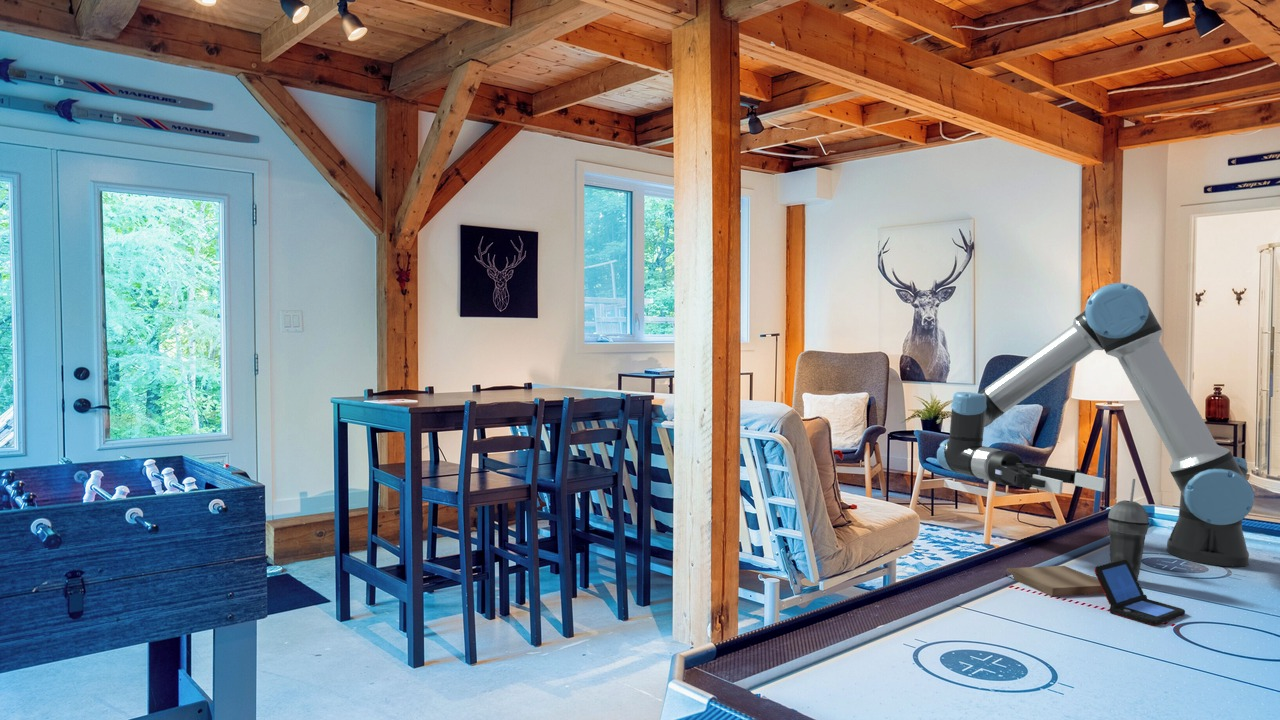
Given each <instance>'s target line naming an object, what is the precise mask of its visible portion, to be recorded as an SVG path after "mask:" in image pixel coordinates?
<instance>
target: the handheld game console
mask: <svg viewBox="0 0 1280 720" xmlns="http://www.w3.org/2000/svg"><path fill="white" fill-rule="evenodd" d="M1094 574H1095V576H1096V578H1097V579H1098V581H1099V583H1100V585H1101V587H1102V589H1103V591H1104V593H1103V594H1104V596H1105V598H1106V600H1107V602H1108V604H1109V605H1110V607H1109V613H1110V614H1111V615H1116V616H1120V617H1122V618H1125V619H1129V620H1133V621H1136V622H1139V623H1142V624H1145V625H1149V626H1153V627H1154V626H1158V625H1162V624H1164V623H1166V622H1170V621H1173V620H1176V619H1177V618H1179V617H1182V616H1185V614H1186V610H1185V608H1184V609H1183V608H1180V607H1178V606H1174V605H1170V604H1167V603H1162V602H1160V601H1157V600H1153V599H1149V598H1148V595H1147V594H1144V591H1143V589H1142V588H1141V585H1140V583H1139V581H1137V578H1136V576H1135V574H1134V572H1133V570H1132V568H1131V566H1130V564H1129V562H1128V561H1127V560H1120V561H1116V562H1112V563H1110V562H1109V563H1105V564H1100V565H1097V566H1095V567H1094Z"/></svg>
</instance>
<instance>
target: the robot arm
mask: <svg viewBox="0 0 1280 720" xmlns="http://www.w3.org/2000/svg"><path fill="white" fill-rule="evenodd" d="M1162 334H1163V328H1162V327H1161V325H1160V323H1159V321H1158V319H1157V318H1156V316H1155V314H1154V312H1153V311H1152V309H1151V307H1150V305H1149V302H1148V299H1147V296H1145V294H1144V293H1143V292H1142V291H1141V290H1140V289H1138V288H1137V287H1135V286H1133V285H1131V284H1128V283H1123V282H1114V283H1109V284H1107V285H1103V286H1102V287H1100V288H1098V289H1096V290H1095V291H1094V292H1093V293H1092V294H1091V295H1090V296H1089V298H1088V299H1087V301H1086V304H1085V308H1084V310H1083V311H1082V312H1081V313H1080V314H1079V315H1077V316H1075V318H1073V322H1072V325H1071V326H1070V327H1068V328H1067V329H1065V330H1064V331H1063V332H1061V333H1060V334H1059V335H1057V336H1056V337H1054V338H1053V339H1051V340H1050V341H1049V342H1048V343H1046V344H1044V345H1043V346H1042V347H1040V348H1039V349H1038V350H1036V351H1035V352H1034V353H1032V354H1031V355H1029V356H1028V357H1026V358H1024V360H1022V361H1021V362H1020V363H1018V364H1017V365H1015V366H1014V367H1012V368H1011V369H1010V370H1009V371H1008V372H1006V373H1004V374H1003V375H1001V376H1000V377H999V378H997V379H996V380H995V381H993V382H992V383H990V385H988V386H986V387H985V388H984V389H982V390H981V391H980V392H970V391H969V392H967V391H956V392H955V393H953V396H952V403H951V407H950V408H951V414H950V426H949V436H948V438H947V439H945V440H942V442H940V443H939V447H938V449H937V451H936V459H937V462H938V464H939V465H940V467H942V468H943V469H945V470H947V471H951V472H953V473H955V474H960V475H964V476H969V477H972V478H973V477H974V478H976V479H977V478H978V479H981V480H983V482H984V483H988V482H993V483H995V484H999V485H1003V486H1007V487H1008V486H1012V485H1014V486H1017V487H1022V486H1023V490H1025V491H1030V490H1031V488H1033V489H1035V490H1036V489H1037V490H1041V491H1043V492H1049V493H1053V494H1057V495H1062V493H1063V486H1064V484H1063V483H1065V484H1072V485H1073V486H1075V487H1080V488H1081V487H1082V488H1085V489H1089V490H1093V491H1099V492H1102V493H1103V492H1106V483H1107V482H1106V481H1107V479H1106V478H1105V477H1104V478H1103V477H1098V476H1094V475H1089V474H1085V473H1083V472H1082V471H1081V470H1080V469H1079V468H1076V470H1070V469H1066V468H1065V469H1064V468H1060V467H1052V466H1046V465H1041V464H1038V463H1037V464H1033V463H1030V462H1023V461H1022V459H1021V457H1020V456H1019V455H1018V454H1017V453H1015V452H1011V451H1007V450H1003V449H1002V450H1001V449H999V448H995V447H990V446H984V445H983V440H984V431H985V428H986V427H988V426H990V425H991V424H992V423H993V422H994V421H995V420H996V419H998V418H999V417H1001V416H1003V415H1004V414H1005V413H1006V412H1008V411H1009V410H1011V409H1013V408H1014V407H1015V406H1016V405H1018V404H1019V403H1021V402H1022V401H1024V400H1025V399H1027V398H1028V397H1030V396H1032V394H1034V393H1036V392H1037V391H1038V390H1040V389H1041V388H1043V387H1044V386H1046V385H1047V384H1048V383H1050V382H1051V381H1052V380H1054V379H1055V378H1057V377H1059V376H1060V375H1062V374H1063V373H1064V372H1065V371H1067V370H1069V368H1071V367H1072V366H1074V365H1075V364H1077V363H1078V362H1080V361H1081V360H1083V359H1085V358H1086V357H1088V356H1089V355H1091V354H1092V353H1093V352H1094V351H1103V350H1104V352H1105V353H1106V355H1108V356H1111V357H1114V358H1117V360H1118V362H1119V364H1120V365H1121V367H1122V369H1123V371H1124V373H1125V375H1126V377H1127V378H1128V380H1129V382H1130V384H1131V385H1132V388H1133V389H1134V390H1133V391H1134V392H1135V393H1136V395H1137V397H1138V398H1139V400H1140V402H1141V404H1142V406H1143V407H1144V409H1145V411H1146V413H1147V415H1148V417H1149V419H1150V421H1151V422H1152V425H1153V426H1154V429H1155V430H1156V432H1157V434H1158V435H1159V437H1160V439H1161V441H1162V443H1163V444H1164V446H1165V449H1166V450H1167V452H1168V455H1169V456H1170V458H1171V459H1172V460H1171V464H1170V467H1169V469H1168V470H1169V472H1170V474H1171V476H1172V478H1173V481H1174V482H1175V483H1176V485H1177V487H1178V489H1179V491H1180V499H1179V508H1178V509H1179V511H1178V518H1177V521H1176V522H1175V525H1174V526H1173V529H1172V531H1171V534H1170V536H1169V538H1168V539H1167V543H1166V551H1167V553H1169V554H1171V555H1173V556H1176V557H1178V558H1181V559H1184V560H1187V561H1192V562H1197V563H1201V564H1206V565H1211V566H1212V565H1213V566H1223V567H1230V568H1231V567H1233V568H1235V567H1237V568H1238V567H1239V568H1240V567H1246V566H1248V565H1249V561H1250V560H1249V559H1250V554H1249V551H1248V548H1247V543H1246V539H1245V535H1244V531H1243V528H1242V527H1243V526H1242V525H1243V524H1242V523H1243V519H1244V518H1245V517H1247V515H1249V514H1250V512H1251V511H1252V509H1253V506H1254V503H1255V492H1254V489H1253V486H1252V485H1251V483H1250V481H1249V480H1247V474H1248V472H1249V469H1248V462H1247V460H1246V459H1245V458H1242V457H1237V456H1233V454H1232V452H1231V451H1230V448H1228V447H1227V448H1226V447H1224V446H1221V445H1219V444H1218V443H1217V442H1216V440H1215V439H1214V437H1213V435H1212V433H1211V431H1210V429H1209V428H1208V426H1207V424H1206V422H1205V421H1204V419H1203V418H1202V416H1201V413H1200V411H1199V410H1198V408H1197V407H1196V404H1195V403H1194V401H1193V399H1192V397H1191V396H1190V394H1189V392H1188V390H1187V387H1186V386H1185V385H1184V383H1183V381H1182V379H1181V378H1180V376H1179V374H1178V373H1177V371H1176V369H1175V367H1174V365H1173V363H1172V362H1171V360H1170V358H1169V356H1168V355H1167V353H1166V351H1165V348H1164V347H1163V345H1162V344H1161V342H1160V340H1161V336H1162Z"/></svg>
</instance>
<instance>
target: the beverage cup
mask: <svg viewBox="0 0 1280 720" xmlns="http://www.w3.org/2000/svg"><path fill="white" fill-rule="evenodd" d="M1135 486H1136V478H1132V481H1131V488H1130V489H1131V491H1130V496H1129V500H1120V501H1118V502H1116V503H1115V504H1113V505H1112V506H1111V508H1110V509H1109V511H1108V517H1107V519H1106V520H1107V526H1108V530H1109V556H1110V557H1109V558H1110V559H1109V561H1110V562H1109V563H1112V562H1116V561H1120V560H1127V561H1128V562H1129V564H1130V566H1131V568H1132V570H1133V572H1134V574H1135V576H1136V578H1137V581H1138V580H1139V575H1140V572H1141V565H1142V559H1143V552H1144V548H1145V541H1146V536H1147V534H1148V530H1149V526H1150V520H1149V514H1148V512H1147V510H1146V509H1145V508H1144V506H1143V505H1141V504H1140V503H1138V501H1137V502H1136V501H1134V494H1135V488H1136V487H1135ZM1138 582H1139V581H1138Z"/></svg>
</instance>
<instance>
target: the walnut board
mask: <svg viewBox="0 0 1280 720" xmlns="http://www.w3.org/2000/svg"><path fill="white" fill-rule="evenodd" d="M1006 571H1007V572H1009V573H1011V574H1012V575H1013V577H1014V579H1015V581H1016V582H1019V583H1022V584H1023V585H1026V586H1028V587H1029V588H1032V589H1035V590H1036V591H1039V592H1041V593H1044V594H1046V595H1048V596H1050V597H1062V596H1063V597H1065V596H1066V597H1067V596H1080V595H1081V596H1082V595H1097V594H1098V595H1099V594H1104V591H1103V589H1102V587H1101V585H1100V583H1099V581H1098V578H1097V577H1094V576H1092V575H1090V574H1087V573H1083V572H1081V571H1079V570H1076V569H1073V568H1070V567H1068V566H1066V565H1050V566H1026V567H1007V568H1006V569H1005V572H1006ZM1014 579H1013V580H1014Z"/></svg>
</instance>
